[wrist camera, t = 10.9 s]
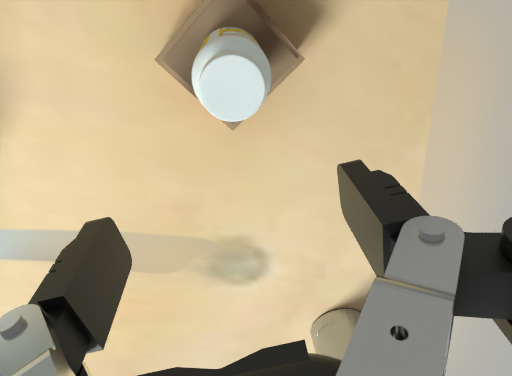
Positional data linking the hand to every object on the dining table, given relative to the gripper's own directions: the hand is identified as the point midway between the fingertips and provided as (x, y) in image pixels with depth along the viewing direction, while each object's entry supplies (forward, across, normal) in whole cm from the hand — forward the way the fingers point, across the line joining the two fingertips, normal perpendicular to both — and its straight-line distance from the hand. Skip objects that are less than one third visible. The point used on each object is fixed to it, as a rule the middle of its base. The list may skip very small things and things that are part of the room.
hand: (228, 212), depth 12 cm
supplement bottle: (+20, -1, -2) cm, 20 cm away
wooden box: (+24, -1, -2) cm, 24 cm away
